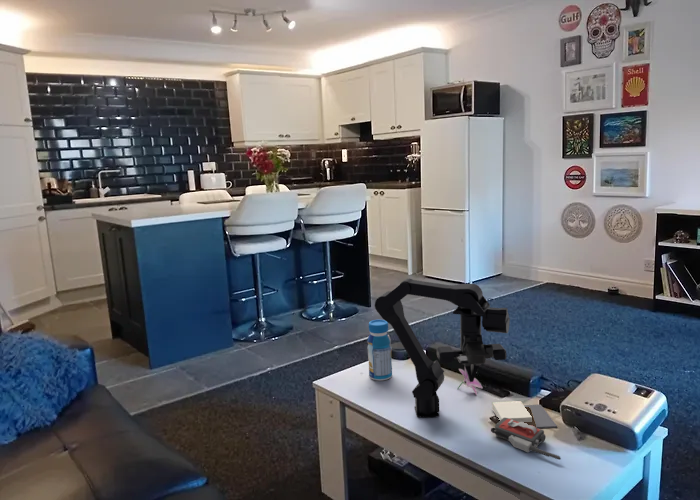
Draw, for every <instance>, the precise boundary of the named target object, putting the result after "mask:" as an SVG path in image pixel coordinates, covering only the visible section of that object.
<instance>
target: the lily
mask: <svg viewBox="0 0 700 500" xmlns="http://www.w3.org/2000/svg"><path fill="white" fill-rule="evenodd" d="M458 371H459V372H460V373H461V374H462V376H463V377H464V379H463V381H462V382H461V383H460V384H459V386H457V390H459V389H460V387H461V386H462V384H463V383H466V384H465V385H466V387H467V388H471V389H472V390H473V392H474V394H475V395H476V396H478V393H477V388H479V389H483V386H482V384H481V382H480V381H479V380H478V379H477V378H476V377H475V378H474V381H473V382H470V380H469V378H468V375H467V372H466V369H465V367H464V369H463V368H458Z"/></svg>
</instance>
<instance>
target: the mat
mask: <svg viewBox="0 0 700 500" xmlns="http://www.w3.org/2000/svg"><path fill="white" fill-rule="evenodd" d="M523 405H524V404H523ZM524 406H525V407H529V408H531V410H532V413H533V416H534V420H535V423H536V427H537V428H538V429H550V428H551V429H553V428H558V425H557V424H556V423H555V421H554V420H553V419H552V417H551V416H550V415H549V413H548V412H547V411H546V409H545V408H544V407H543V406H542V405H541V404H525V405H524Z"/></svg>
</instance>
